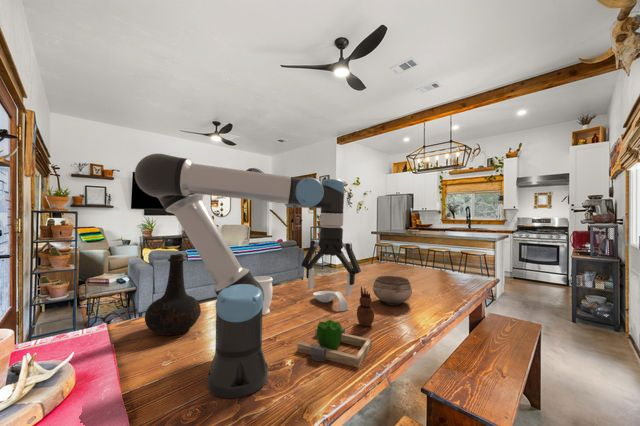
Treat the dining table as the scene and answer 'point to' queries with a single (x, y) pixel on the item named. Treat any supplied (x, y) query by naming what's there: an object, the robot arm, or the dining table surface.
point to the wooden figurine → (365, 309)
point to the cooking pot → (392, 289)
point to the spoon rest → (331, 298)
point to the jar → (266, 291)
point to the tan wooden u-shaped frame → (340, 357)
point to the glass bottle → (173, 304)
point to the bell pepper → (329, 334)
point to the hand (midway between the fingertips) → (329, 291)
